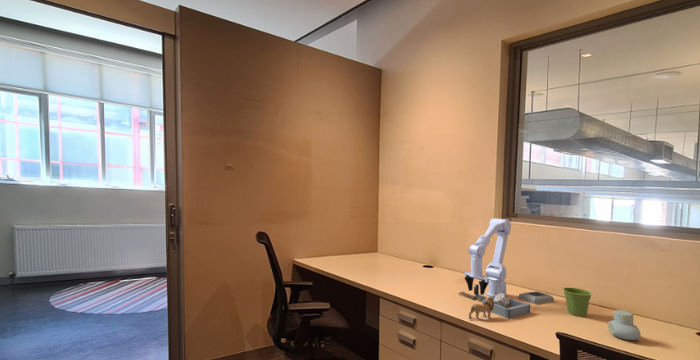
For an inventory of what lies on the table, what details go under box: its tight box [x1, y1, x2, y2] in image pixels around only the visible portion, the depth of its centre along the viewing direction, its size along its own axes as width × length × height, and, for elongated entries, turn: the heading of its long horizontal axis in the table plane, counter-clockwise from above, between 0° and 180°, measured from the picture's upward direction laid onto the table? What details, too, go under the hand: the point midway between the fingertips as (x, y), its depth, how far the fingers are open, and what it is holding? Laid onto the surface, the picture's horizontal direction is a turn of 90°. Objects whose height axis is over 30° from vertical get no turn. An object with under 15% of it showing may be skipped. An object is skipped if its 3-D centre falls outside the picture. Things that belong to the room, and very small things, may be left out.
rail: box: [458, 291, 478, 301], centre depth 173 cm, size 3×10×1 cm, turn 29°
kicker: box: [473, 283, 494, 300], centre depth 165 cm, size 11×11×8 cm
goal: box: [481, 297, 531, 319], centre depth 153 cm, size 17×14×4 cm
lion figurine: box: [468, 296, 494, 321], centre depth 142 cm, size 15×5×9 cm, turn 116°
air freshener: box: [607, 309, 642, 341], centre depth 127 cm, size 11×8×10 cm
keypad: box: [518, 290, 555, 305], centre depth 172 cm, size 10×4×15 cm
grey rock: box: [494, 291, 512, 308], centre depth 156 cm, size 9×8×10 cm
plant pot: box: [562, 287, 593, 318], centre depth 151 cm, size 12×12×11 cm
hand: (476, 292), depth 168 cm, fingers open, 7 cm apart
